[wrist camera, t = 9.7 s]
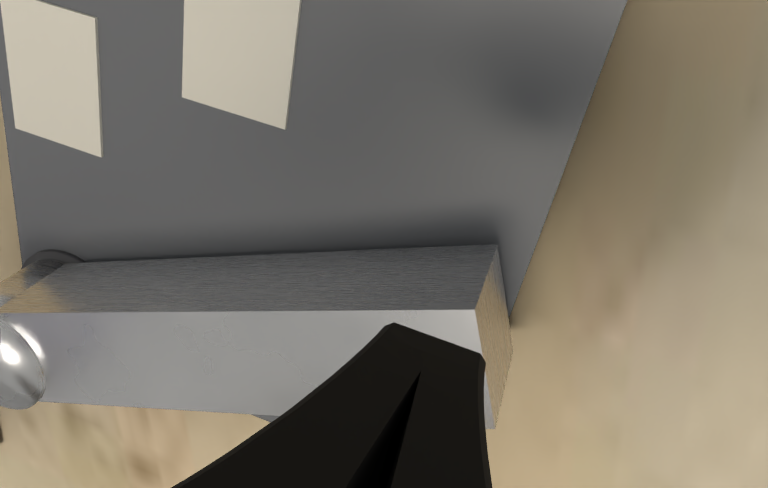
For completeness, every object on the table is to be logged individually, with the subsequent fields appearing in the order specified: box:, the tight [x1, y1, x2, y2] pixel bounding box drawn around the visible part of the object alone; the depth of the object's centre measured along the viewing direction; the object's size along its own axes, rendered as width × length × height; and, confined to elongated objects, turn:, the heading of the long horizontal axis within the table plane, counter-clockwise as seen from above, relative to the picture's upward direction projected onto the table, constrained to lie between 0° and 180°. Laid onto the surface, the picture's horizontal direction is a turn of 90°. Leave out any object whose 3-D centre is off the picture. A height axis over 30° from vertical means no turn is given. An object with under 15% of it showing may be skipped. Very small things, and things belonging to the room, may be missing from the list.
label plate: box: [0, 0, 627, 422], centre depth 18 cm, size 16×17×1 cm
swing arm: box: [0, 244, 513, 429], centre depth 18 cm, size 17×4×3 cm, turn 103°
